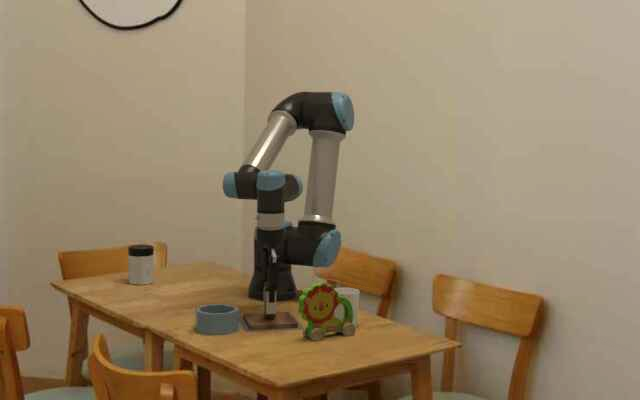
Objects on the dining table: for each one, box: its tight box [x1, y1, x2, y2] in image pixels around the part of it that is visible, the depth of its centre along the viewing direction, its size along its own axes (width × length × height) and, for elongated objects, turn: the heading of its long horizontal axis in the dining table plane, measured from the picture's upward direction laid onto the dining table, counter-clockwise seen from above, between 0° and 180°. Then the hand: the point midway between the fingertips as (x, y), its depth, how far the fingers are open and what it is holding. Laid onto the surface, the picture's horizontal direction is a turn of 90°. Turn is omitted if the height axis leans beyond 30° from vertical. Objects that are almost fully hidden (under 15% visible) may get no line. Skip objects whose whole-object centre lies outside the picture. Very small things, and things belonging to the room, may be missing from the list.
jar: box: [127, 244, 155, 284], centre depth 313 cm, size 9×8×12 cm
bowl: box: [195, 303, 240, 336], centre depth 255 cm, size 11×11×6 cm
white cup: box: [334, 287, 361, 329], centre depth 262 cm, size 8×8×10 cm
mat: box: [239, 314, 304, 333], centre depth 263 cm, size 16×16×1 cm
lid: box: [242, 282, 298, 330], centre depth 262 cm, size 13×13×11 cm
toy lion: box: [297, 281, 356, 342], centre depth 249 cm, size 16×5×15 cm, turn 122°
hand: (269, 311), depth 262 cm, fingers closed on lid, 3 cm apart
